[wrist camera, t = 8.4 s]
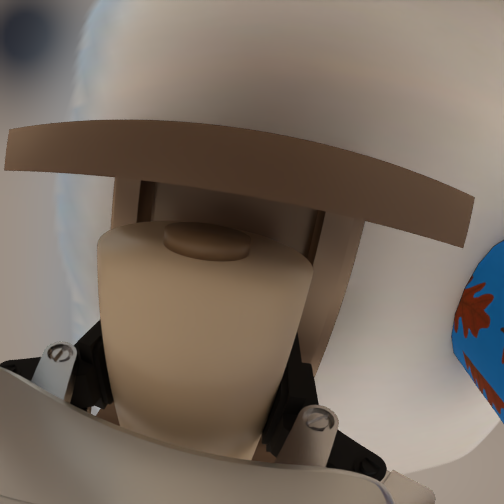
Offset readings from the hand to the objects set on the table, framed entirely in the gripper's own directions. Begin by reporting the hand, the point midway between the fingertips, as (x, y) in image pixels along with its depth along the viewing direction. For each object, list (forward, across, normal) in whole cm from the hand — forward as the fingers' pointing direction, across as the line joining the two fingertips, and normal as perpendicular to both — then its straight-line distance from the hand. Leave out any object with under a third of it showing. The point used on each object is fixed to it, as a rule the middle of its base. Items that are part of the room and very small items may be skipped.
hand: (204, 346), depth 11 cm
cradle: (+4, 0, 0) cm, 4 cm away
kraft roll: (+1, 0, 0) cm, 1 cm away
